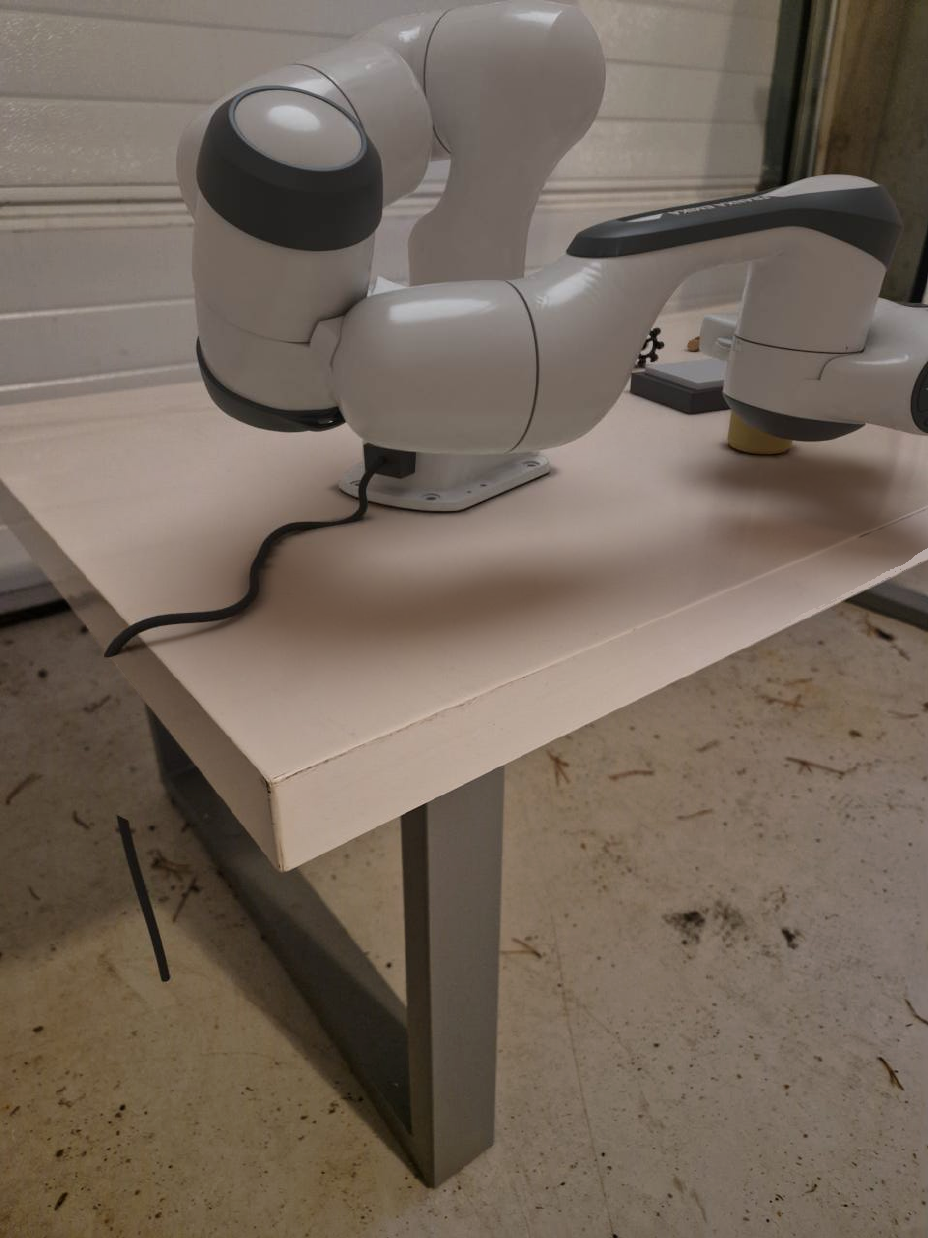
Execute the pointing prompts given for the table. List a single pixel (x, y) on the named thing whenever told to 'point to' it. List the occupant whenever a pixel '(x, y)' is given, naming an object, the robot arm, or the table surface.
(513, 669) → the table surface
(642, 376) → the scale
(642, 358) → the valve
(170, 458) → the table surface
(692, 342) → the paintbrush
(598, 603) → the table surface
